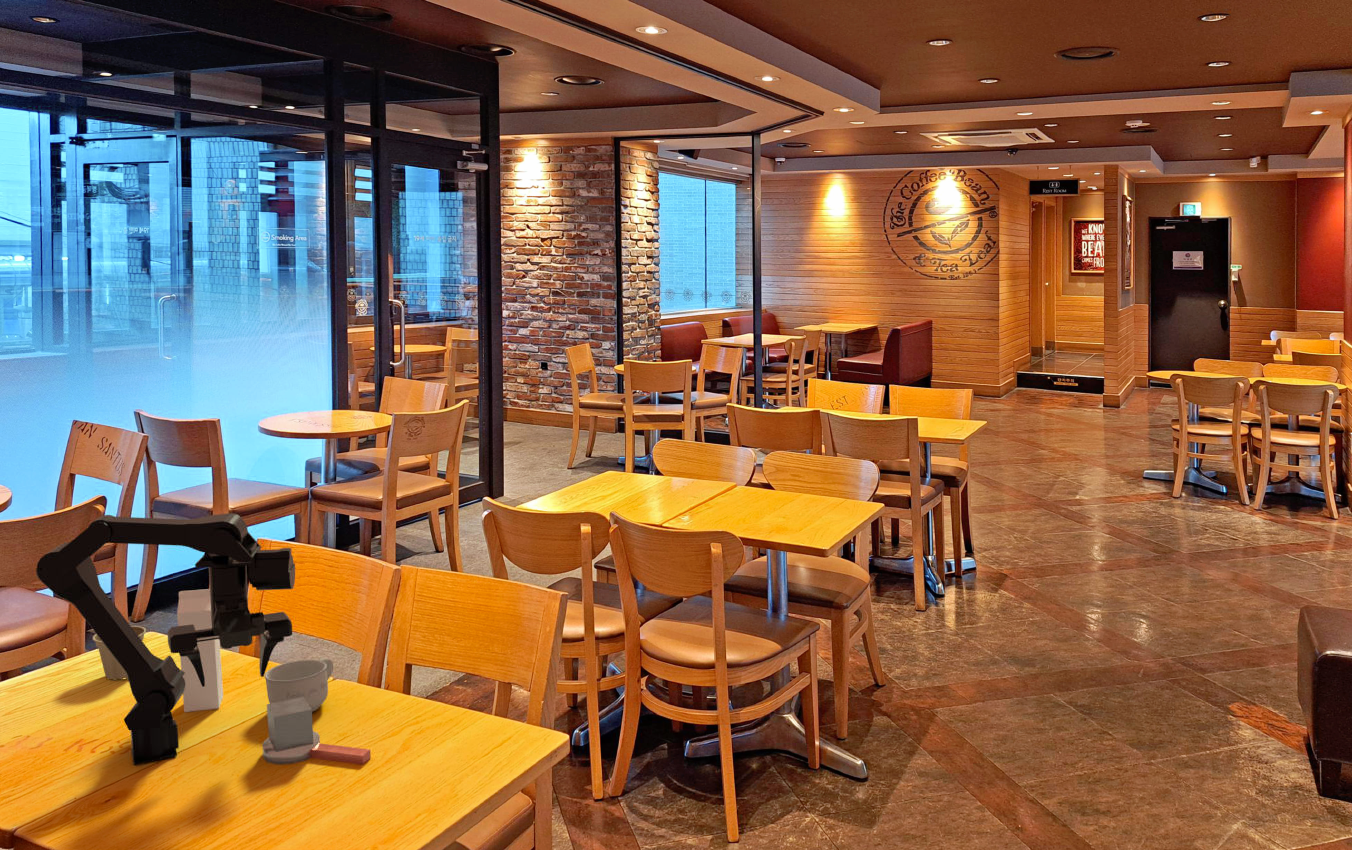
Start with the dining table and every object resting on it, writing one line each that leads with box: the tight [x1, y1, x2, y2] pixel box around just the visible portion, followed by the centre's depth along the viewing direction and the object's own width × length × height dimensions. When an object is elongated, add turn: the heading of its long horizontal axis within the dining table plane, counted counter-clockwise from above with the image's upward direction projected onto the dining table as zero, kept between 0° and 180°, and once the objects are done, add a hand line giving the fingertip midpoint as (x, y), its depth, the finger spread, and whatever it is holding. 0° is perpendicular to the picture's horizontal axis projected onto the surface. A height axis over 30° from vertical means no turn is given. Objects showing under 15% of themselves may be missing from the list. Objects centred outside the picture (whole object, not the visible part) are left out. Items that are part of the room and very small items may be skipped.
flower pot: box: [92, 625, 147, 680], centre depth 213 cm, size 9×9×9 cm
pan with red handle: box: [262, 730, 372, 765], centre depth 178 cm, size 18×9×5 cm, turn 76°
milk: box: [176, 588, 224, 713], centre depth 198 cm, size 6×6×22 cm
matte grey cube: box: [266, 697, 314, 752], centre depth 179 cm, size 6×6×6 cm
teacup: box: [264, 657, 334, 713], centre depth 198 cm, size 14×11×8 cm
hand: (232, 680), depth 180 cm, fingers open, 9 cm apart
